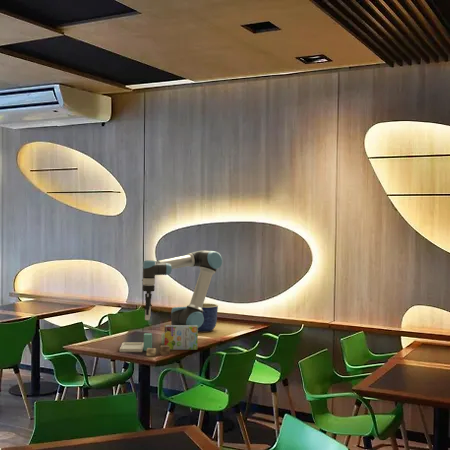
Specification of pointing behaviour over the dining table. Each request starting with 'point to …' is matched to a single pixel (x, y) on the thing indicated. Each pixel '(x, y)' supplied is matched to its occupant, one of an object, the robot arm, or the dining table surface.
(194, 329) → the snack box
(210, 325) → the planter
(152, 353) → the beech block
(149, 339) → the teal block
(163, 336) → the grey-brown upright piece
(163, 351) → the walnut cube
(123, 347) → the tray
